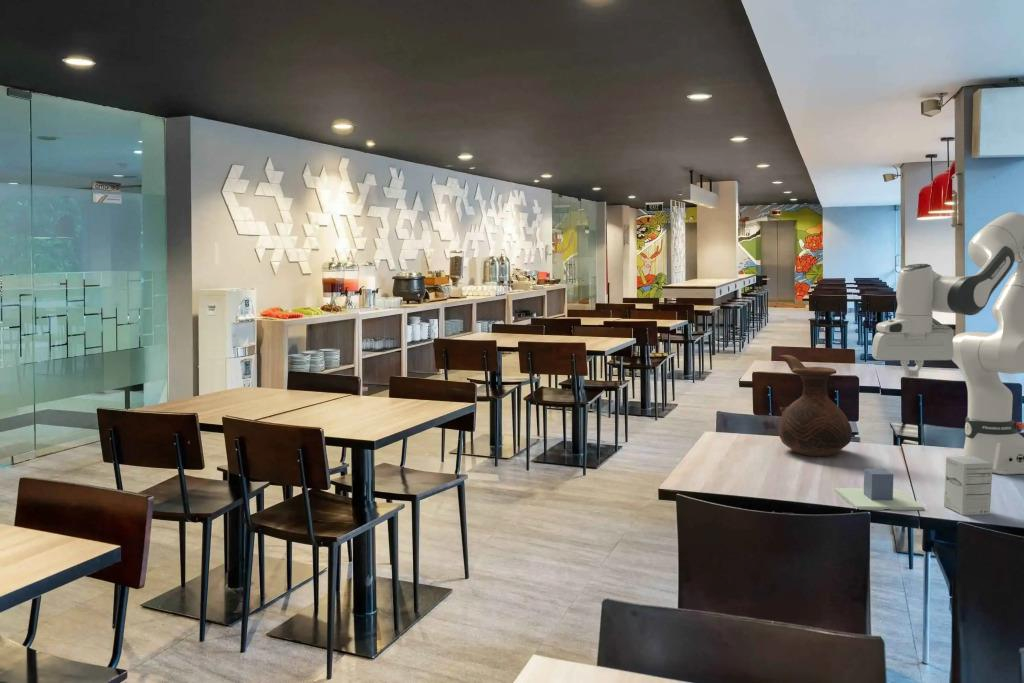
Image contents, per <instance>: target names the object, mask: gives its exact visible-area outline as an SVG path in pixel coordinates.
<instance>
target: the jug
mask: <svg viewBox="0 0 1024 683" xmlns="http://www.w3.org/2000/svg"><path fill="white" fill-rule="evenodd" d="M779 359H780V360H782V361H784V362H785V363H786V364H787V365H788V367H789V369H790V370H791V372H792V373H793V374H795V375H798V376H799V377H800V378H801V379H800V380H801V381H802V386H803V387H802V389H803V390H802V394H801V396H800V397H799V398H797V399H796V400H794V401H793V402H791V404H790V405H789V406H786V407H785V406H784V407H781V406H780V407H779V409H780V412H781V418H780V422H779V425H778V428H777V429H778V436H779V438H780V440H781V442H782V444H783V445H785V446H786V447H787V448H789V449H790V450H793V451H795V453H797V454H799V453H800V455H805V456H813V457H827V456H832V455H835V454H837V453H838V452H840V451H841V450H842V449H844V448H845V447H846V446H848V445H849V444H850V442H851V440H852V437H853V428H852V426H851V423H850V422H849V420H848V418H847V416H846V414H845V413H844V411H843V410H842V409H841V408H840V407H839V406H838V405H837V404H836V403H835V402H834V401H833V400H831V399H830V398H829V395H828V391H827V388H828V387H827V384H828V379H829V377H830V376H832V375H835V374H837V369H835V368H832V367H824V366H805V365H804V363H803V362H801V361H800V360H799V359H798V358H797V357H795V356H793V355H790V354H781V355H779Z"/></svg>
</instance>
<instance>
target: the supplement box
mask: <svg viewBox="0 0 1024 683" xmlns="http://www.w3.org/2000/svg"><path fill="white" fill-rule="evenodd" d="M992 467H993V463H990V462H987V461H985V460H982V459H979V458H977V457H974V456H962V455H960V456H959V455H956V456H955V455H954V456H953V455H952V456H946V457H945V476H944V477H945V478H944V494H943V507H945V508H948V509H950V510H952V511H954V512H956V513H958V514H959V515H961V516H975V515H976V516H977V515H980V516H981V515H990V514H991V502H992V500H991V499H992V486H993V485H992V484H993V482H992V481H993V472H992Z"/></svg>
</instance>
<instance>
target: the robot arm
mask: <svg viewBox="0 0 1024 683" xmlns="http://www.w3.org/2000/svg"><path fill="white" fill-rule="evenodd" d="M967 254H968V257H969V259H970V260H971V261H972V262H973V264H974V265H975V266H976V267H977V268H979V270H978V272H976V273H975V274H972V275H967V276H948V275H947V276H945V275H941V274H939V273H937V272H936V271H935V270H933V268H932V265H930V264H928V263H916V264H914V263H913V264H908V265H905V266H903V267H902V268H901V269H900V271H899V273H898V277H897V282H896V292H895V293H896V295H895V296H896V302H897V307H896V309H895V310H896V311H895V317H894V318H892V319H888V320H884V321H881V322H878V323H877V324H876V326H875V329H876V331H877V332H876V333H875V334H874V337H873V339H872V344H871V345H872V346H871V356H872V358H873V359H875V360H876V361H900V365H901V367H902V368H903V370H904V377H906V378H919V374H920V373H919V371H920V370H921V369H922V367H923V366H924V361H952V363H954V364H955V365H956V366H957V367H958V369H959V370H960V372H961V374H962V377H963V378H964V381H965V384H966V389H967V416H966V417H965V425H964V435H965V440H964V446H963V450H962V453H961V456H974V457H977V458H979V459H982V460H985V461H987V462H990V463H993V467H992V474H999V475H1019V474H1020V475H1021V474H1022V475H1023V474H1024V437H1023V436H1022V435H1021V434H1020V433H1018V429H1019V430H1020V431H1024V422H1020V421H1015V420H1014V419H1012V418H1013V416H1012V415H1013V402H1014V400H1013V399H1014V398H1013V397H1014V396H1013V392H1012V391H1011V389H1010V388H1008V387H1007V386H1006V385H1005V384H1004V383H1003V382H1002V379H1001V378H1000V375H999V373H1000V374H1001V373H1002V374H1010V375H1016V374H1018V375H1019V374H1024V214H1022V213H1019V212H1013V211H1012V212H1011V211H1010V212H1007V213H1004V214H1002V215H1000V216H998V217H996V218H995V219H993V220H992V221H990V222H988V223H987V224H985V226H984V227H982V228H981V229H980V230H979V231H977V232H976V233H975V234H974V235H973V236H972V238H971V239H970V240H969V242H968V246H967ZM1015 263H1017V266H1016V268H1015V270H1014V271H1013V273H1012V274H1011V275H1010V277H1009V278H1008V280H1007V281H1006V282H1005V284H1004V286H1003V288H1002V289H1001V291H1000V293H999V295H998V297H997V299H996V301H995V302H994V304H993V306H992V308H991V314H992V316H993V318H994V320H995V321H996V322H997V323H998V327H997V330H996V331H995V332H988V331H987V332H985V331H966V332H961V333H958V334H956V335H954V333H955V332H954V330H953V327H951V326H949V325H947V324H943V325H938V324H936V325H935V324H933V314H934V313H933V312H936V313H948V314H959V315H965V316H976V315H977V314H979V313H980V312H981V311H983V309H985V308H986V306H987V304H988V303H989V299H990V297H991V296H992V294H993V293H994V291H995V290H996V289H997V288H998V286H999V285H1000V284H1001V282H1003V280H1004V279H1005V277H1006V276H1007V275H1008V274H1009V273H1010V271H1011V269H1013V268H1012V267H1013V266H1014V265H1015ZM910 361H914V364H916V365H915V366H914V368H913V369H910V367H909V366H908V365H910Z"/></svg>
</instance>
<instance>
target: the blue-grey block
mask: <svg viewBox="0 0 1024 683" xmlns="http://www.w3.org/2000/svg"><path fill="white" fill-rule="evenodd" d="M863 476H864V477H863V488H864V495H865V496H867V497H868V498H869V499H871V500H893V488H894V478H895V477H894V476H895V475H894V473H892V472H891V471H889V470H888V469H886V468H864V471H863Z"/></svg>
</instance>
